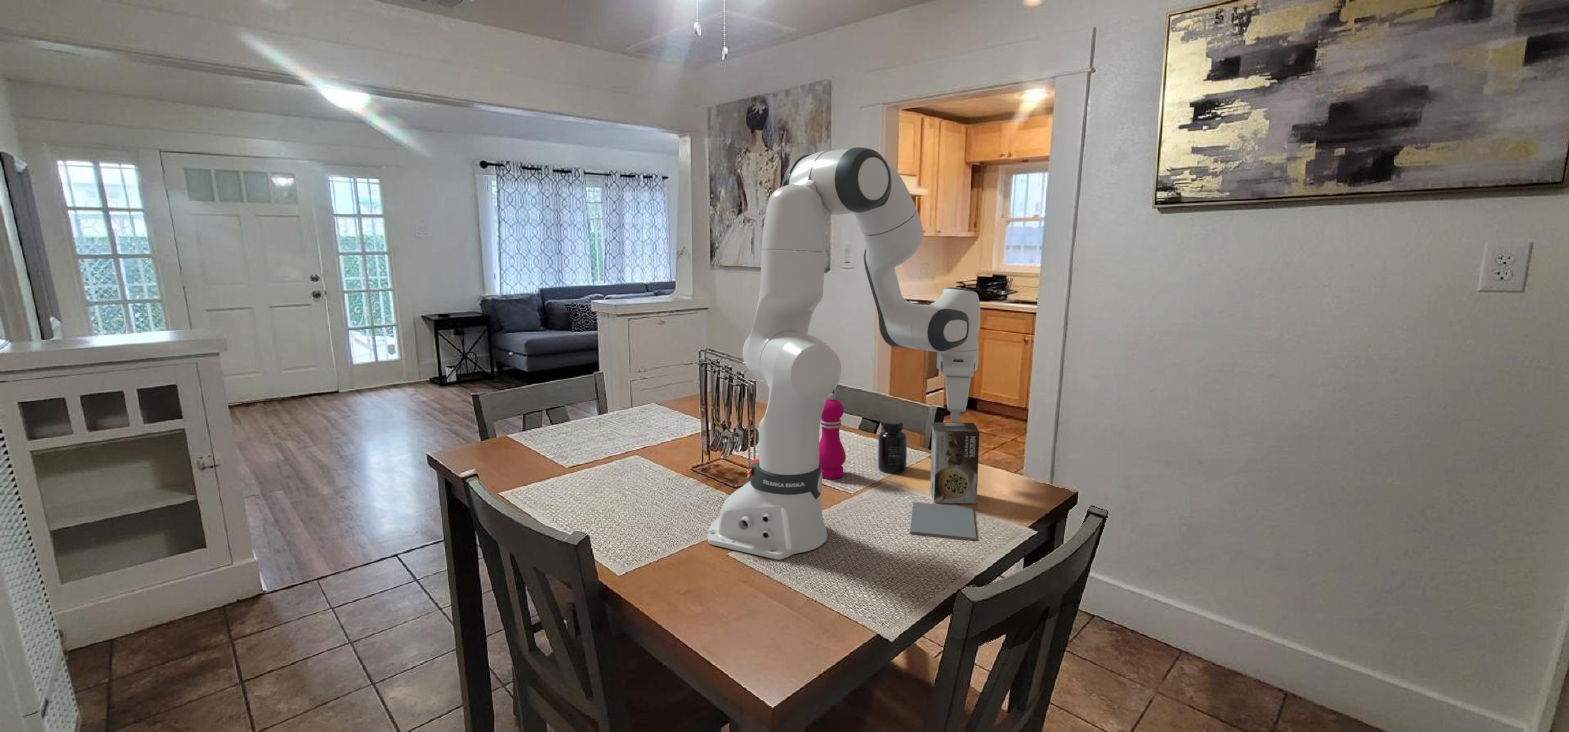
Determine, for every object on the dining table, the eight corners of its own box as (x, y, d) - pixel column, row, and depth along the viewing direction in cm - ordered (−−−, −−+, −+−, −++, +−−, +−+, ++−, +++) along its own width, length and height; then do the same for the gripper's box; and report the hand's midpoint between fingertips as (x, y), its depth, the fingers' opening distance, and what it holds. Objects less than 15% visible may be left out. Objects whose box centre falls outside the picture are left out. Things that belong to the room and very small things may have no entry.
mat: (909, 533, 118) (910, 531, 118) (913, 504, 132) (913, 501, 131) (976, 540, 115) (976, 538, 115) (972, 509, 129) (972, 507, 129)
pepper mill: (810, 471, 151) (810, 390, 147) (838, 467, 153) (839, 388, 149) (821, 481, 144) (821, 397, 140) (850, 478, 146) (851, 395, 142)
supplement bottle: (910, 467, 153) (912, 420, 151) (899, 476, 147) (901, 427, 145) (884, 462, 157) (885, 416, 154) (873, 470, 151) (874, 422, 149)
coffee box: (971, 492, 137) (974, 422, 134) (977, 504, 131) (981, 430, 128) (928, 491, 138) (931, 421, 135) (932, 503, 132) (935, 429, 129)
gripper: (942, 352, 149) (940, 408, 152) (942, 369, 130) (940, 433, 132) (970, 353, 147) (967, 409, 150) (974, 370, 128) (971, 435, 131)
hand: (954, 420), depth 141 cm, fingers closed
